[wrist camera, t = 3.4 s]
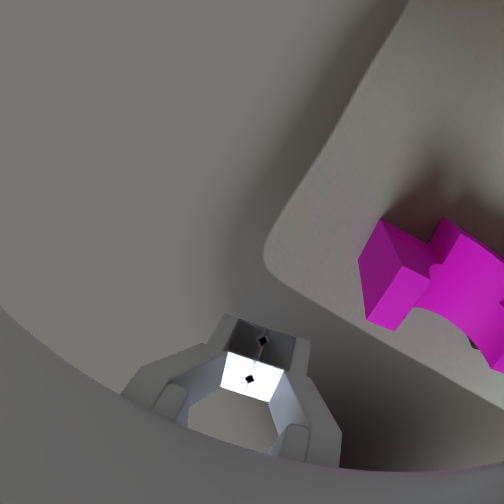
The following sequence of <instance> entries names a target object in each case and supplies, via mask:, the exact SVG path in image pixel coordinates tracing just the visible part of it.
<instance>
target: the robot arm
mask: <svg viewBox="0 0 504 504" xmlns="http://www.w3.org/2000/svg"><path fill="white" fill-rule="evenodd" d="M310 345H311V341H310V340H306V339H302V338H299V337H294V336H290V335H287V334H284V333H281V332H277V331H274V330H271V329H268V328H265V327H262V326H259V325H256V324H253V323H250V322H247V321H245V320H242V319H238V318H235V317H233V316H230V315H227V314H224V315H223V316H222V318H221V319H220V321H219V323H218V325H217V326H216V328H215V330H214V332H213V333H212V335H211V337H210V339H209V340H208V342H207V344H203V343H200V344H198V345H196V346H193V347H191V348H188V349H186V350H184V351H181V352H178V353H176V354H173V355H170V356H168V357H165V358H163V359H160V360H158V361H155V362H152V363H149V364H147V365H144V366H141V367H140V369H139V370H138V371H137V373H136V374H135V375H134V377H133V378H132V379H131V380H130V382H129V383H128V385H127V386H126V387H125V388H124V390H123V391H122V392H121V394H120V395H119V394H117V393H115V392H114V391H112V390H110V389H109V388H107V387H105V386H104V385H102V384H100V383H99V382H97V381H95V380H94V379H92V378H91V377H89V376H88V375H86V374H84V373H83V372H81V371H80V370H78V369H77V368H75V367H74V366H72V365H71V364H70V363H68V362H67V361H65V360H64V359H63V358H61V357H60V356H59V355H57V354H56V353H55V352H53V351H52V350H51V349H49V348H48V347H47V346H45V345H44V344H43V343H42V342H40V341H39V340H38V339H36V338H35V337H34V336H33V335H32V334H31V333H29V332H28V331H27V330H26V329H25V328H24V327H22V326H21V325H20V324H19V323H18V322H17V321H16V320H15V319H13V317H11V316H10V315H9V314H8V313H7V312H6V311H5V310H4V309H3V308H2V307H1V306H0V504H504V461H503V462H498V463H494V464H488V465H483V466H477V467H470V468H463V469H454V470H445V471H430V472H377V471H362V470H352V469H342V468H339V459H340V450H341V438H342V432H341V430H340V429H339V427H338V425H337V424H336V422H335V420H334V418H333V416H332V415H331V413H330V411H329V409H328V408H327V406H326V404H325V403H324V401H323V399H322V397H321V396H320V394H319V392H318V390H317V388H316V387H315V385H314V383H313V381H312V380H311V378H310V377H306V374H307V367H308V361H309V354H310ZM220 387H222V388H225V389H228V390H231V391H235V392H238V393H241V394H244V395H247V396H250V397H253V398H256V399H259V400H262V401H265V402H268V404H269V408H270V411H271V414H272V417H273V420H274V423H275V426H276V429H277V432H278V435H279V437H278V439H277V440H276V441H275V443H274V444H273V445H272V447H271V448H270V449H269V451H268V452H267V453H266V454H264V453H261V452H257V451H254V450H250V449H246V448H243V447H240V446H237V445H234V444H231V443H227V442H224V441H222V440H218V439H216V438H213V437H210V436H208V435H205V434H202V433H200V432H197V431H194V430H192V429H189V428H187V422H188V407H190V406H191V405H193V404H195V403H196V402H198V401H199V400H201V399H203V398H205V397H206V396H208V395H209V394H211V393H213V392H214V391H216V390H217V389H219V388H220Z"/></svg>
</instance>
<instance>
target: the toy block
mask: <svg viewBox="0 0 504 504" xmlns="http://www.w3.org/2000/svg"><path fill="white" fill-rule="evenodd" d="M358 264H359V270H360V277H361V283H362V290H363V298H364V306H365V314H366V320H368V321H370V322H373V323H375V324H378V325H380V326H382V327H385V328H387V329H390V330H392V331H395V330H396V328H397V327H398V326H399V325H400V323H401V322H402V321H403V319H404V318H405V317H406V315H407V314H408V313H409V311H410V310H411V309H412V307H420V308H424V309H428V310H430V311H433V312H435V313H437V314H439V315H441V316H443V317H444V318H446V319H448V320H449V321H451V322H452V323H453V324H455V325H456V326H457V327H458V328H460V329H461V330H462V331H463V332H464V333H465V334H466V335H467V336H468V337H469V338H470V339H471V340H472V341H473V342H474V344H475V345H476V346H477V347H478V349H479V350H480V351H481V353H482V354H483V356H484V357H485V359H486V361H487V362H488V364H489V366H490V368H491V369H493V370H496V371H499V372H502V373H504V258H502V257H501V256H500V255H498V254H497V253H496V252H494V251H493V250H492V249H490V248H489V247H487V246H486V245H485V244H483V243H482V242H480V241H479V240H478V239H476V238H475V237H473V236H472V235H470V234H469V233H467V232H466V231H464V230H463V229H461V228H460V227H458V226H457V225H455V224H454V223H452V222H451V221H449V220H447V219H446V218H444V217H443V218H442V219H441V221H440V223H439V225H438V227H437V229H436V231H435V233H434V234H433V236H432V238H431V240H430V242H429V243H428V244H427V243H425V242H423V241H422V240H420V239H418V238H416V237H414V236H412V235H411V234H409V233H407V232H405V231H403V230H401V229H399V228H397V227H395V226H393V225H392V224H390V223H388V222H386V221H384V220H382V219H380V220H379V222H378V223H377V225H376V227H375V229H374V231H373V233H372V235H371V237H370V239H369V241H368V243H367V244H366V246H365V248H364V250H363V252H362V254H361V255H360V257H359V259H358Z"/></svg>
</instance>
